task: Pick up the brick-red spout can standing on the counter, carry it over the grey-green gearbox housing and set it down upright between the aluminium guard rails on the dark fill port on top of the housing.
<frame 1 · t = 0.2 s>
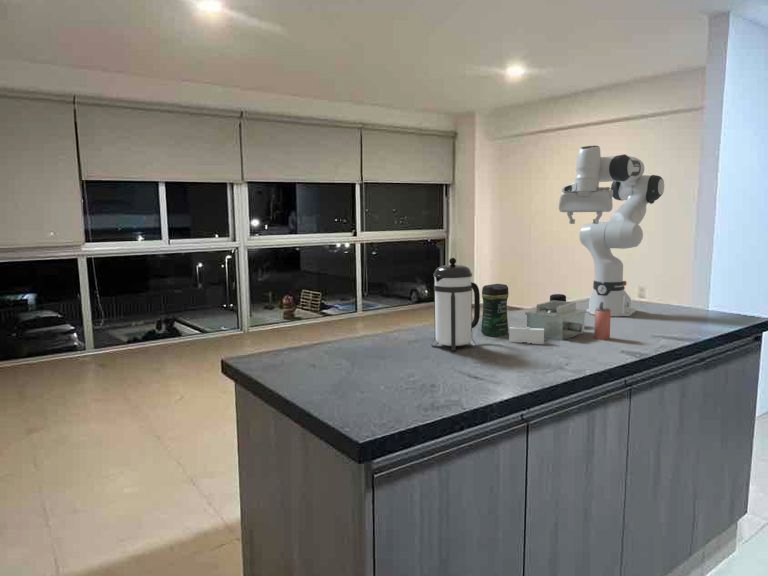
hand: (583, 223, 211), 39 cm above the worktop, tool pointing down, fingers open, 8 cm apart
coffee jar: (495, 334, 200), on the worktop
white stepped block: (527, 344, 186), on the worktop
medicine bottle: (557, 325, 213), on the worktop
spout can: (601, 338, 189), on the worktop
coffee press: (455, 346, 185), on the worktop
gearbox: (555, 333, 199), on the worktop
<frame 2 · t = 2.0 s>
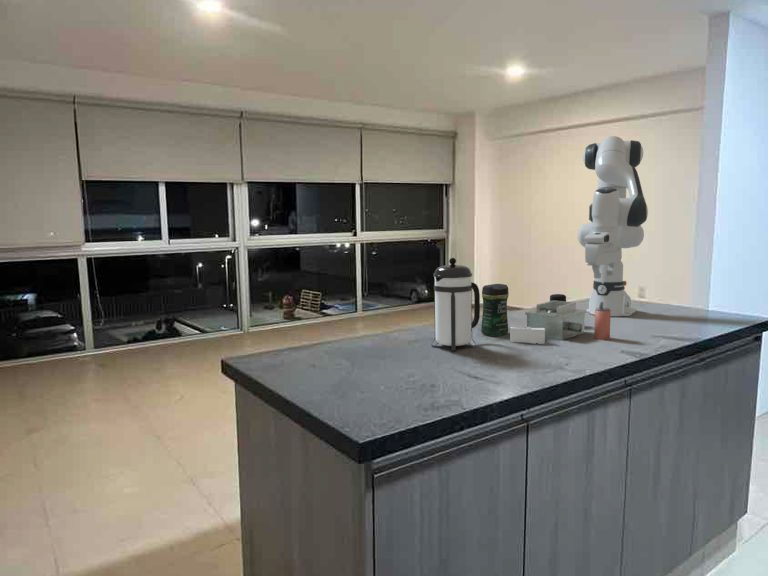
hand: (603, 276, 186), 22 cm above the worktop, tool pointing down, fingers open, 8 cm apart
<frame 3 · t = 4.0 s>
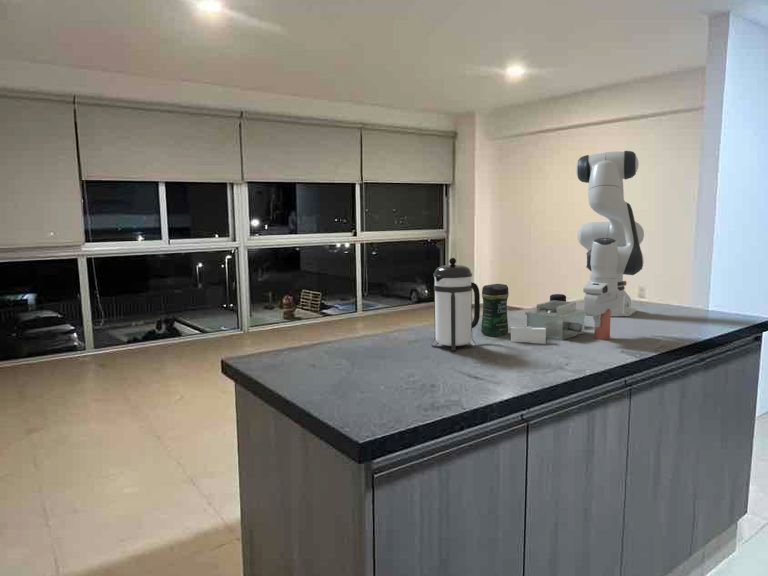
hand: (602, 325, 189), 5 cm above the worktop, tool pointing down, fingers closed on spout can, 5 cm apart
spout can: (602, 338, 189), on the worktop, touching gripper
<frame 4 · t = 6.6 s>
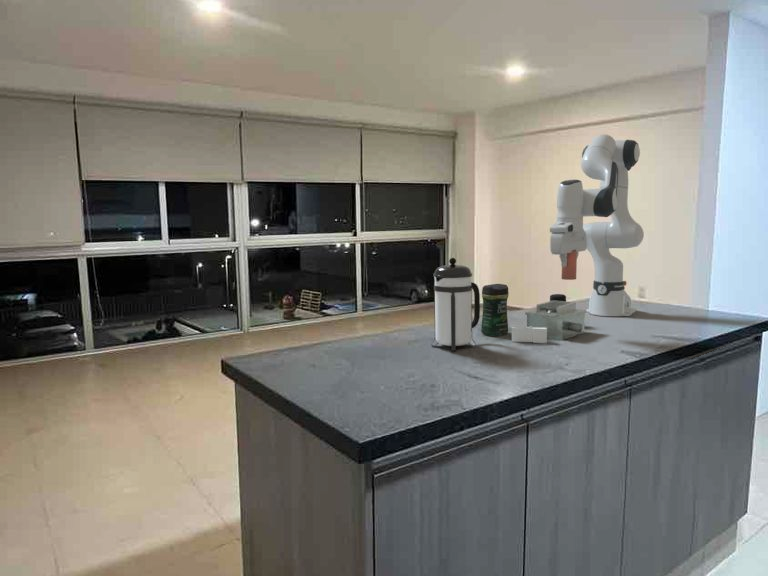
hand: (568, 265, 194), 25 cm above the worktop, tool pointing down, fingers closed on spout can, 5 cm apart
spout can: (568, 278, 194), point 20 cm above the worktop, touching gripper
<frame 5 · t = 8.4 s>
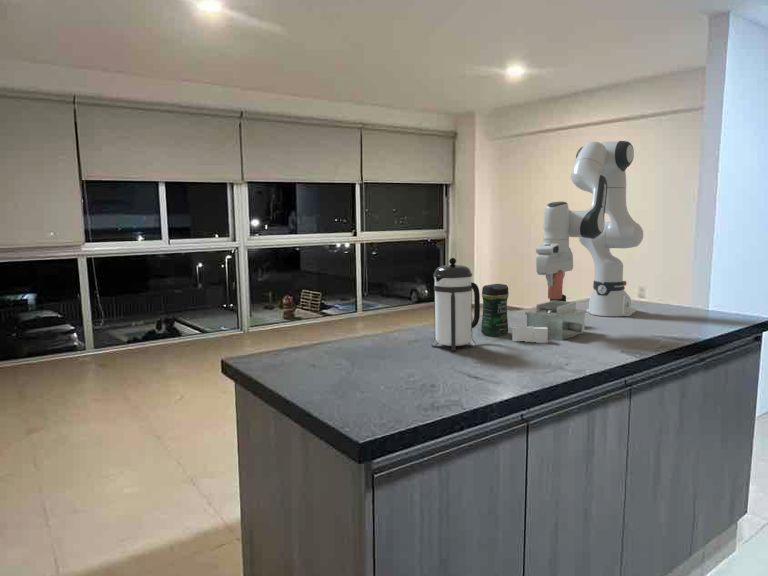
hand: (555, 285, 198), 18 cm above the worktop, tool pointing down, fingers closed on spout can, 5 cm apart
spout can: (555, 298, 198), point 13 cm above the worktop, touching gripper
when the fingers open (14 cm above the worktop, at t = 9.5 s): spout can stays where it is, resting on gearbox.
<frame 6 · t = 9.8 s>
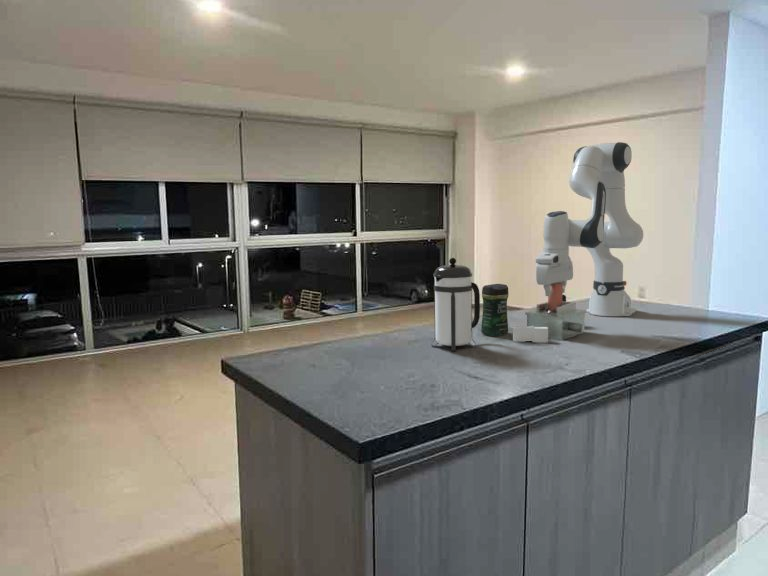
hand: (555, 294, 198), 14 cm above the worktop, tool pointing down, fingers open, 8 cm apart
spout can: (555, 310, 199), point 8 cm above the worktop, touching gearbox
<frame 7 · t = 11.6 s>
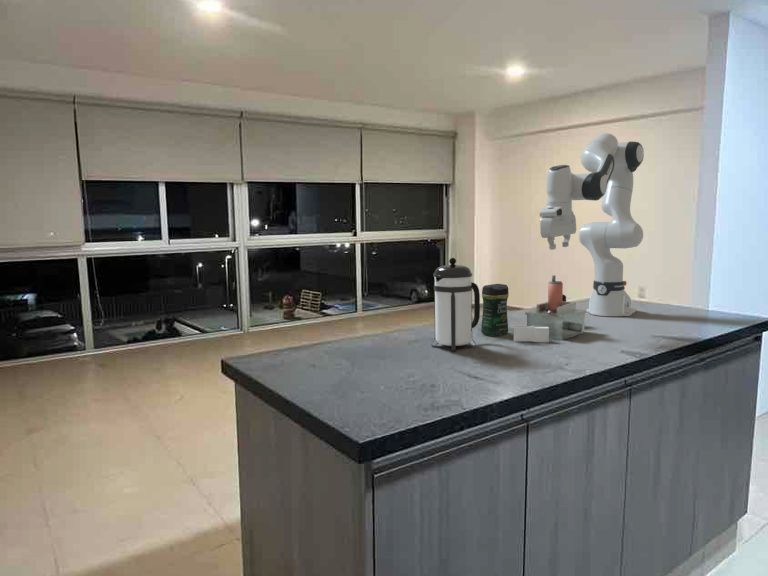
hand: (559, 248, 201), 31 cm above the worktop, tool pointing down, fingers open, 8 cm apart
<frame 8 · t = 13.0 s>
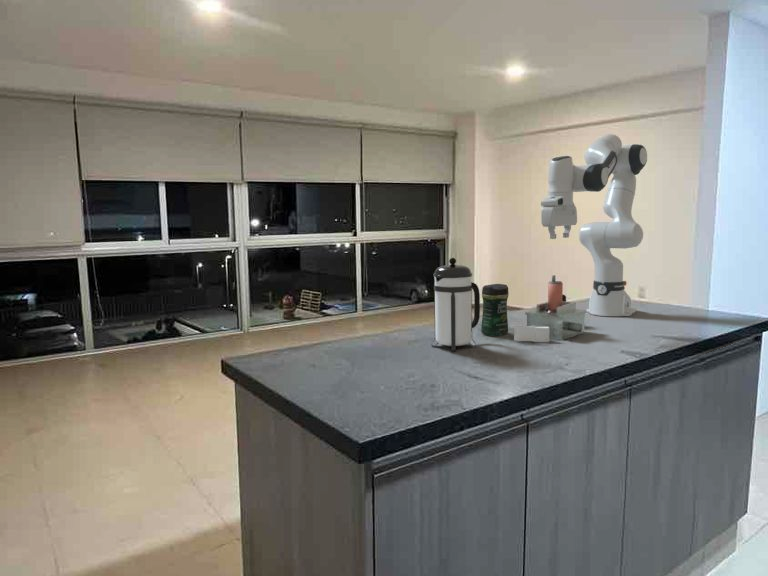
hand: (559, 238, 203), 34 cm above the worktop, tool pointing down, fingers open, 8 cm apart
at the end: spout can inside the target area on the gearbox (0.1 cm from its centre), point 8.3 cm above the gearbox's base; spout can tilted 0°; the gripper is holding nothing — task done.
